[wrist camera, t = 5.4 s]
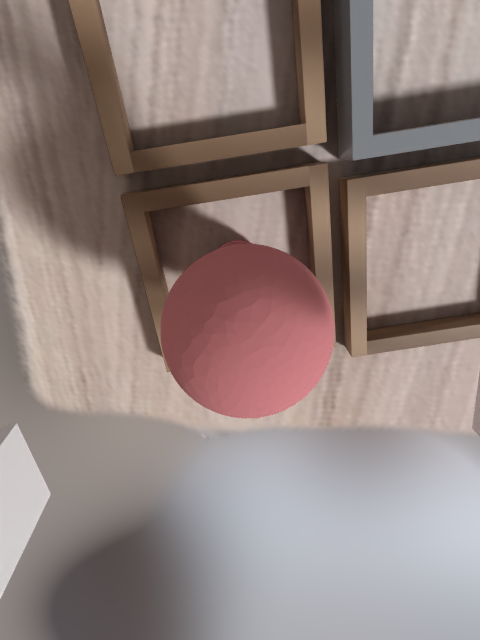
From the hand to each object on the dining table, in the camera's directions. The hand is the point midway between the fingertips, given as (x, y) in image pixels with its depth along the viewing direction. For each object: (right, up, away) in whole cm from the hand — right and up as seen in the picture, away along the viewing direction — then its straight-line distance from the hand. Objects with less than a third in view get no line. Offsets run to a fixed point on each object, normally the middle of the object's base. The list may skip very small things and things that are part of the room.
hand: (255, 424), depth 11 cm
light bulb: (-1, +6, +13) cm, 14 cm away
